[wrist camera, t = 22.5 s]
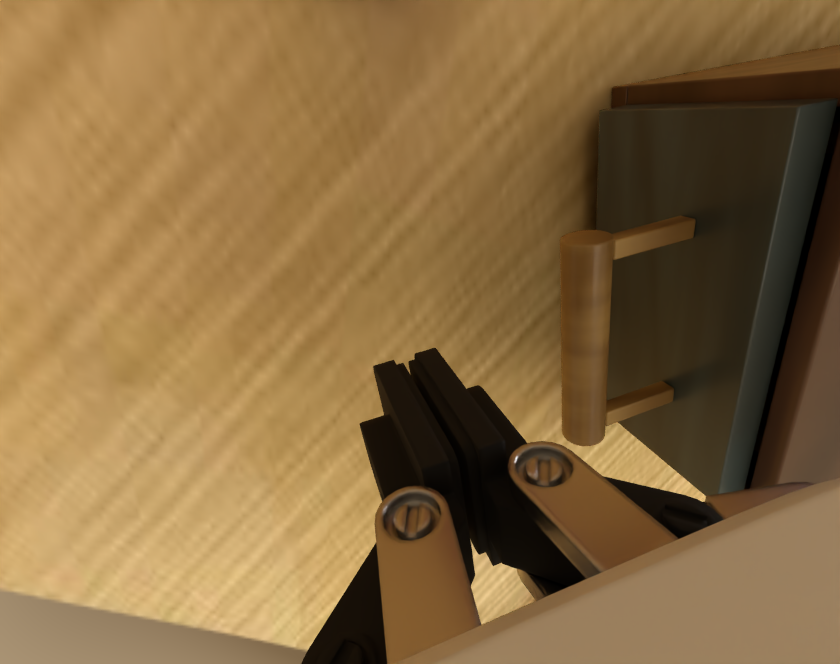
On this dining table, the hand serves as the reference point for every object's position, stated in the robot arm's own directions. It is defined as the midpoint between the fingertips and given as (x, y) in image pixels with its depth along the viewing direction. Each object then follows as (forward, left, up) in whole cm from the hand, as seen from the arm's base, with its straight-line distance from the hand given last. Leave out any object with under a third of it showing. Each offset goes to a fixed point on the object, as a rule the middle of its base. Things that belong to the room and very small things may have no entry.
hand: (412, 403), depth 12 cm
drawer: (+1, +15, -5) cm, 15 cm away
